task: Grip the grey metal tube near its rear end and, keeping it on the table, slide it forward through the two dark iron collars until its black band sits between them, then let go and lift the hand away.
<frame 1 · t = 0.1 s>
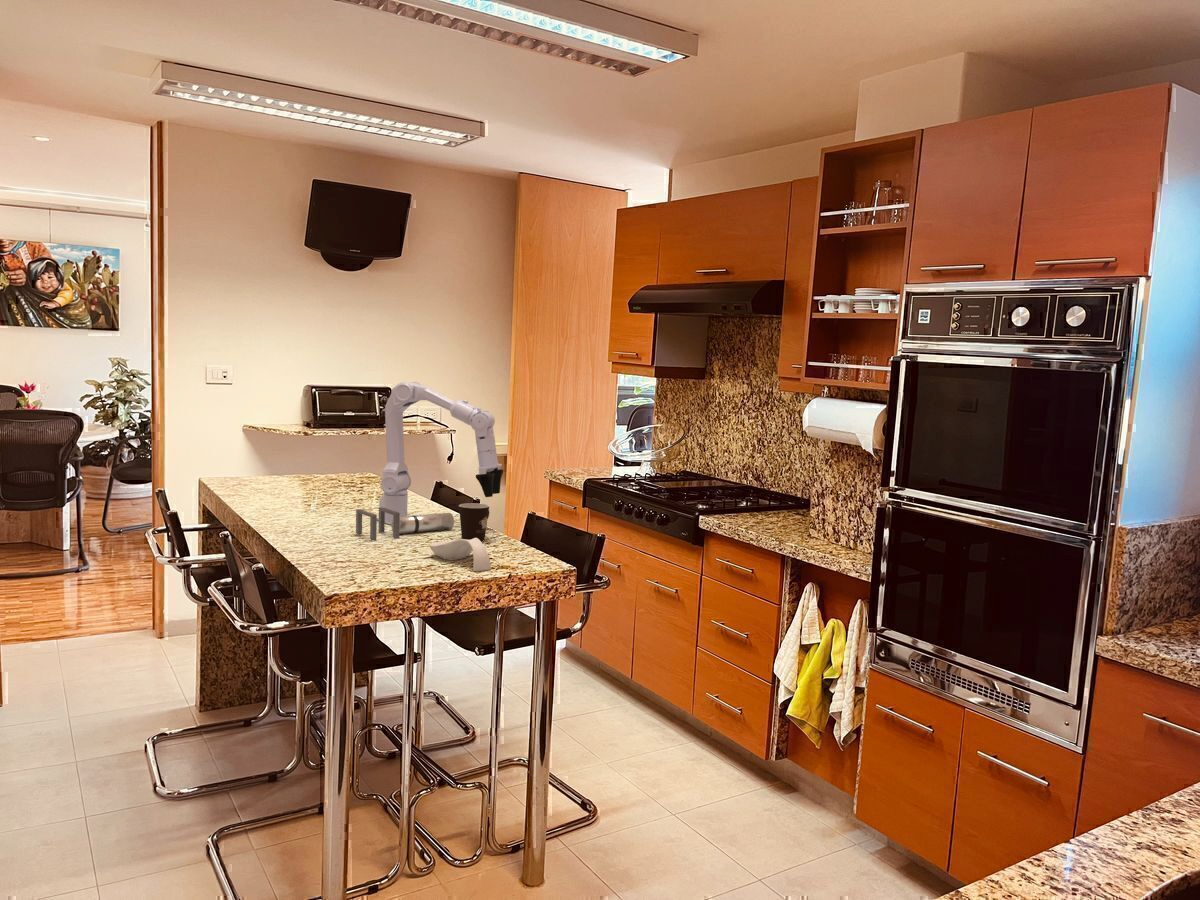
hand: (492, 495, 274), 11 cm above the counter, tool pointing down, fingers open, 7 cm apart
coffee mug: (477, 540, 258), on the counter
tube: (422, 531, 267), on the counter
spoon rest: (462, 563, 230), on the counter
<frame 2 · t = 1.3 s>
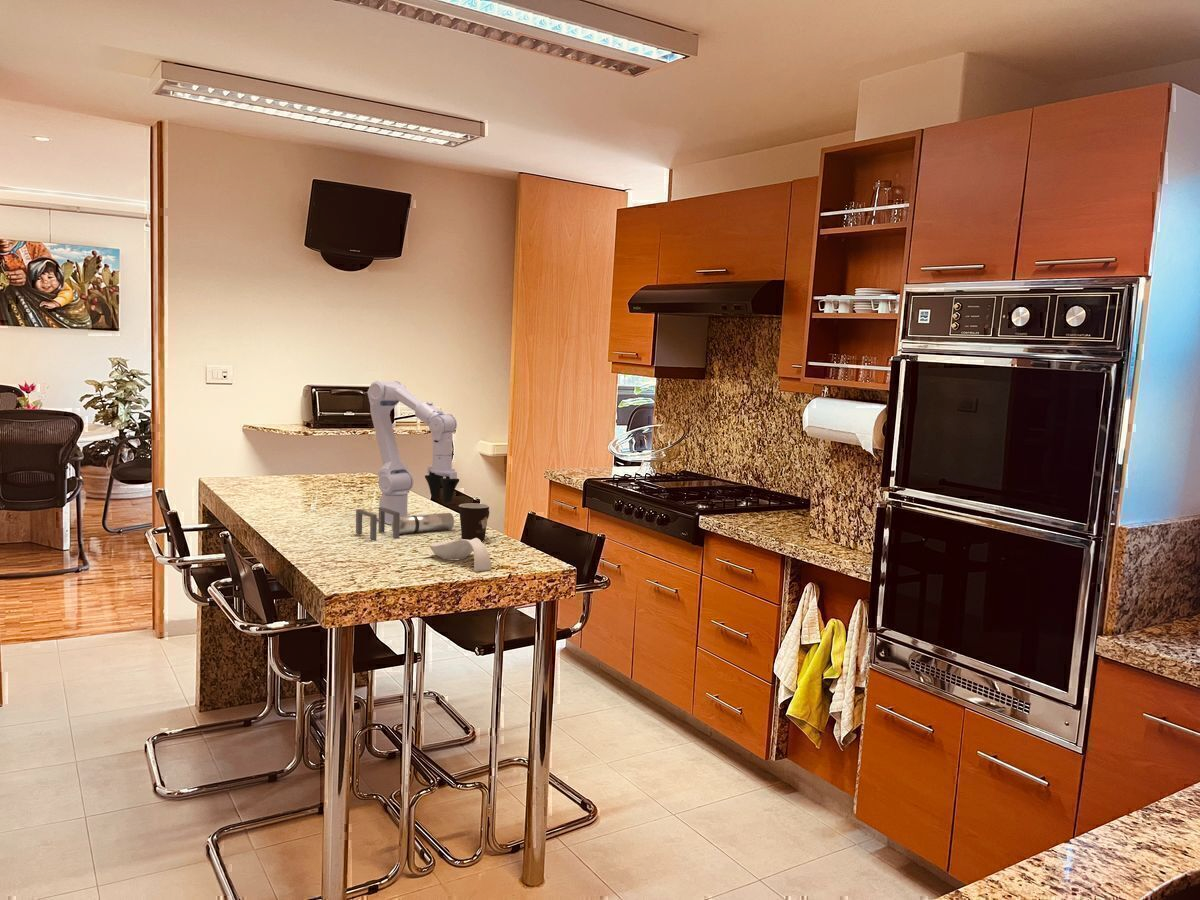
hand: (441, 499, 270), 9 cm above the counter, tool pointing down, fingers open, 7 cm apart
nothing on the counter moved.
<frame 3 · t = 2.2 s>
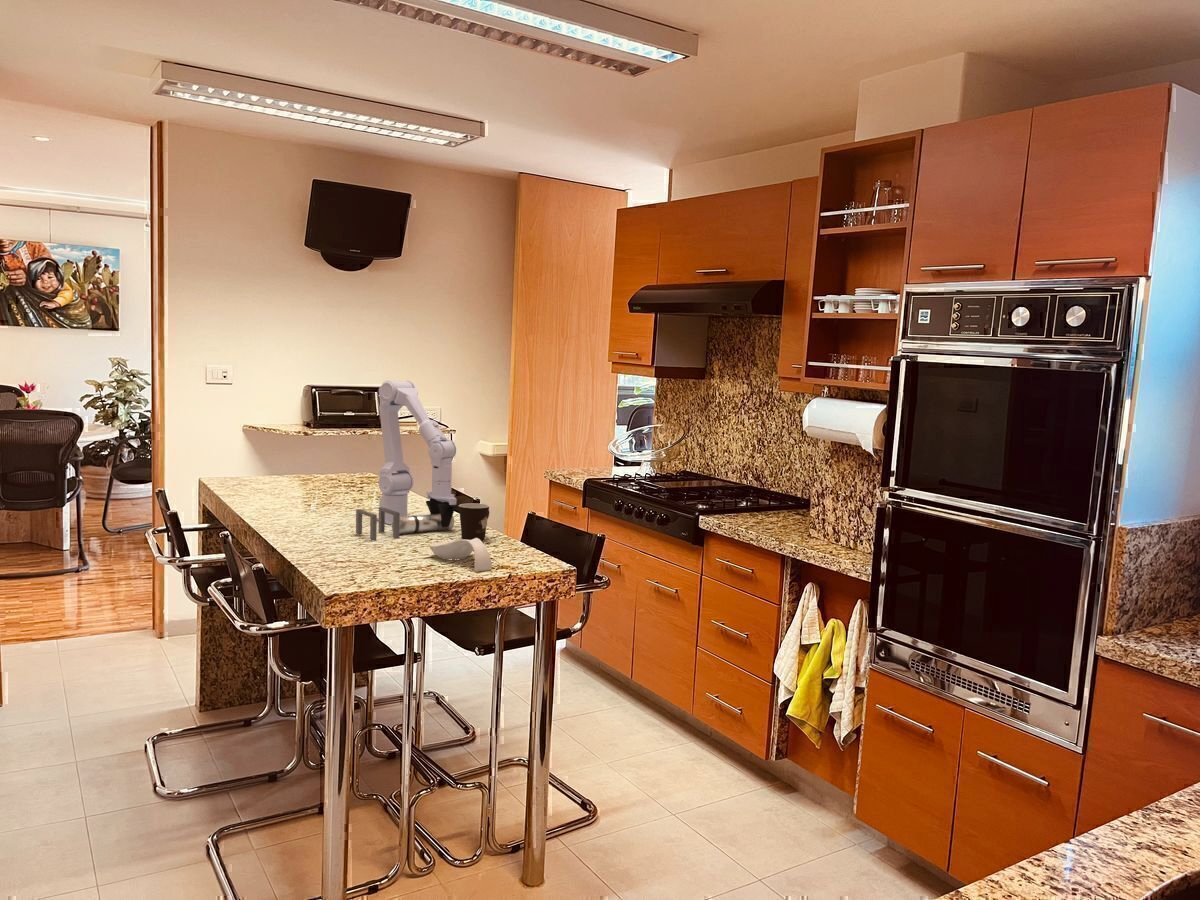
hand: (440, 525, 270), 1 cm above the counter, tool pointing down, fingers closed on tube, 5 cm apart
tube: (422, 531, 267), on the counter, touching gripper
everything else where it was.
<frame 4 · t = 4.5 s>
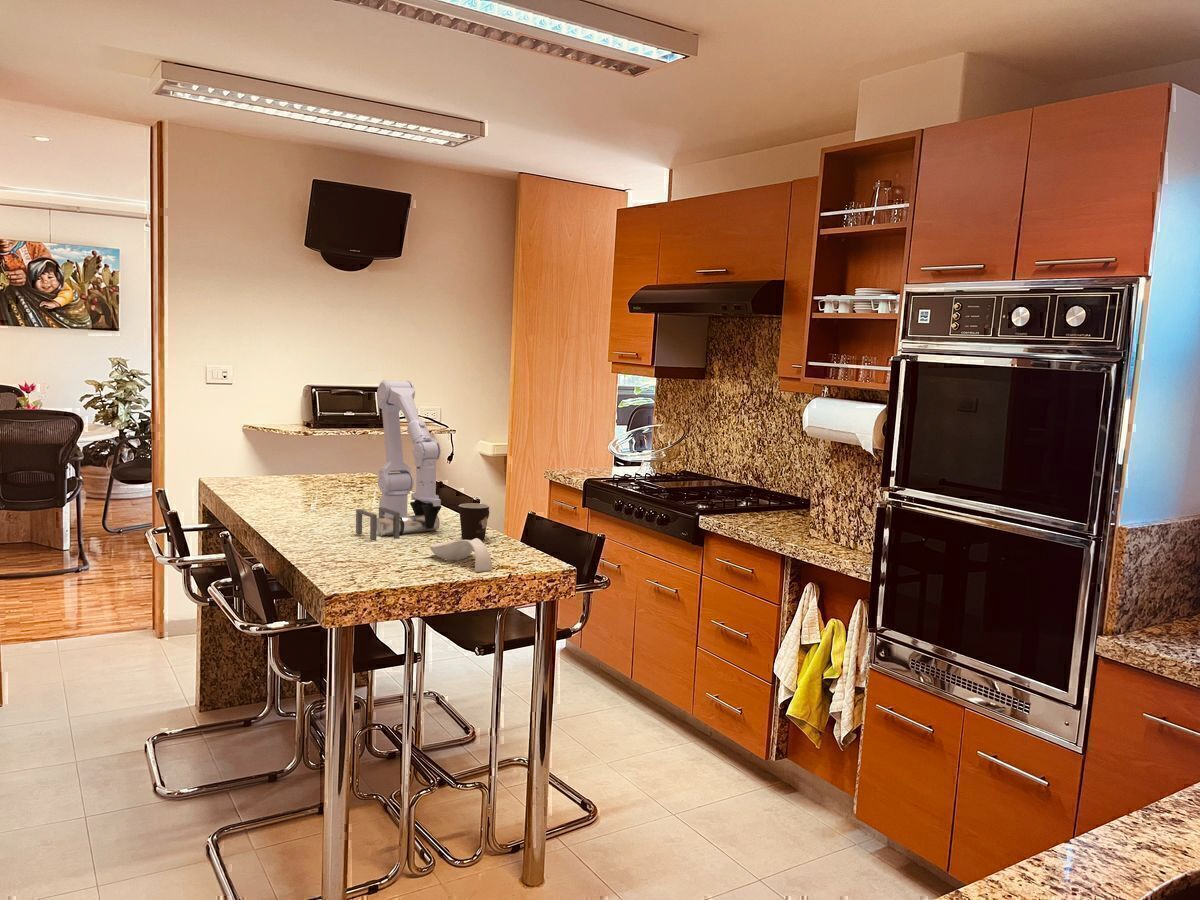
hand: (425, 526, 267), 1 cm above the counter, tool pointing down, fingers closed on tube, 5 cm apart
tube: (408, 533, 264), on the counter, touching gripper
everything else where it was.
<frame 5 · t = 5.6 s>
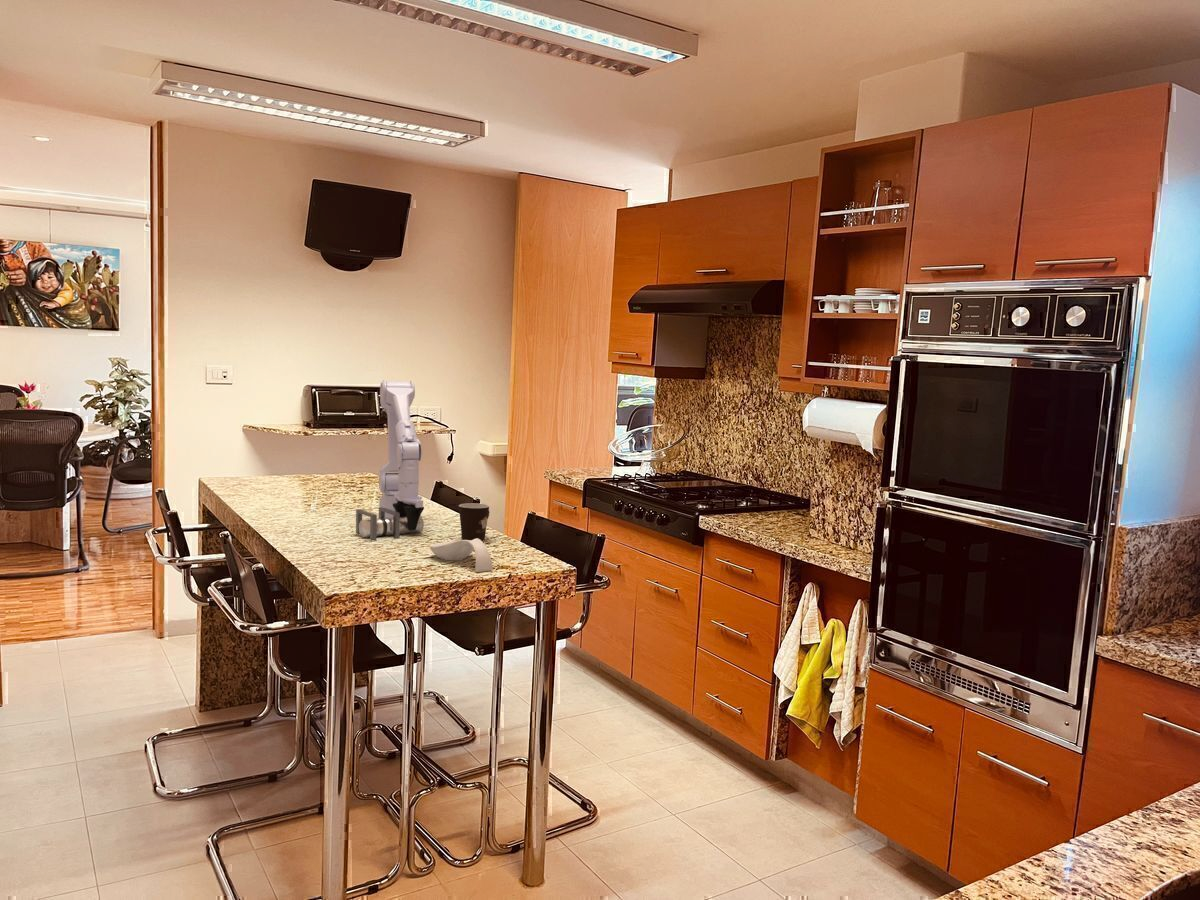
hand: (407, 528, 264), 1 cm above the counter, tool pointing down, fingers closed on tube, 5 cm apart
tube: (391, 534, 261), on the counter, touching gripper
everything else where it was.
when the fingers open (1 cm above the counter, at t = 6.3 s): tube stays where it is, on the counter.
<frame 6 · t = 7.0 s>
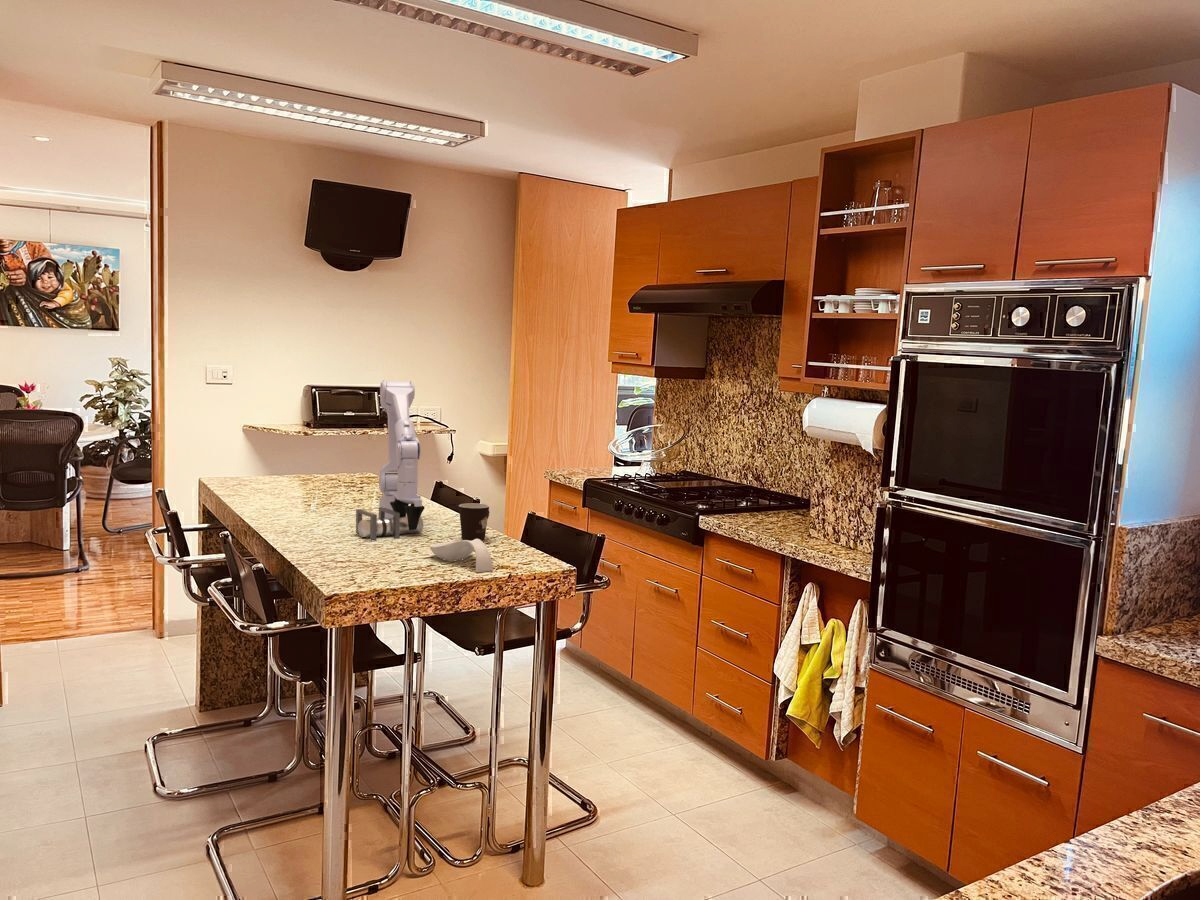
hand: (406, 527, 263), 2 cm above the counter, tool pointing down, fingers open, 7 cm apart
tube: (390, 534, 260), on the counter, tilted 10°
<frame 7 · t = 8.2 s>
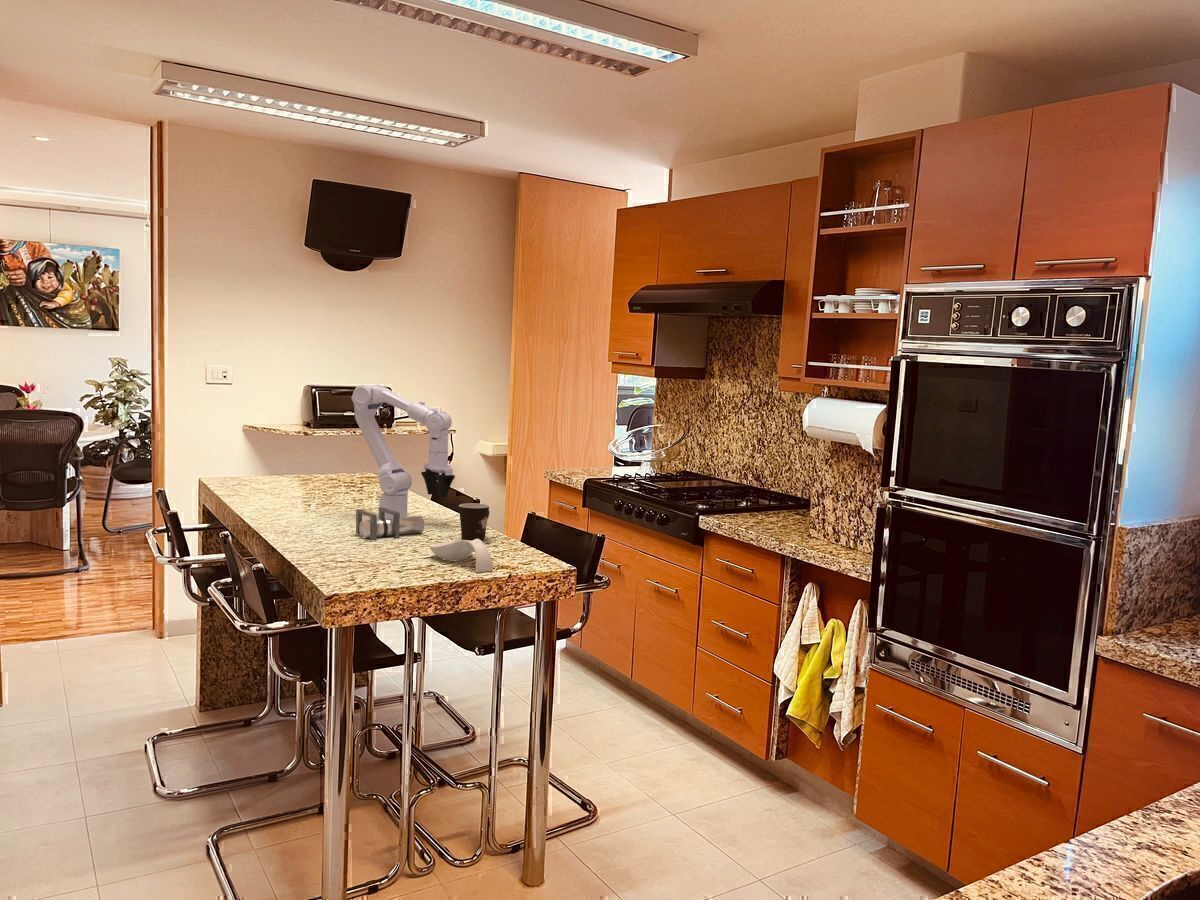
hand: (437, 495, 276), 9 cm above the counter, tool pointing down, fingers open, 7 cm apart
tube: (390, 533, 260), on the counter, tilted 27°
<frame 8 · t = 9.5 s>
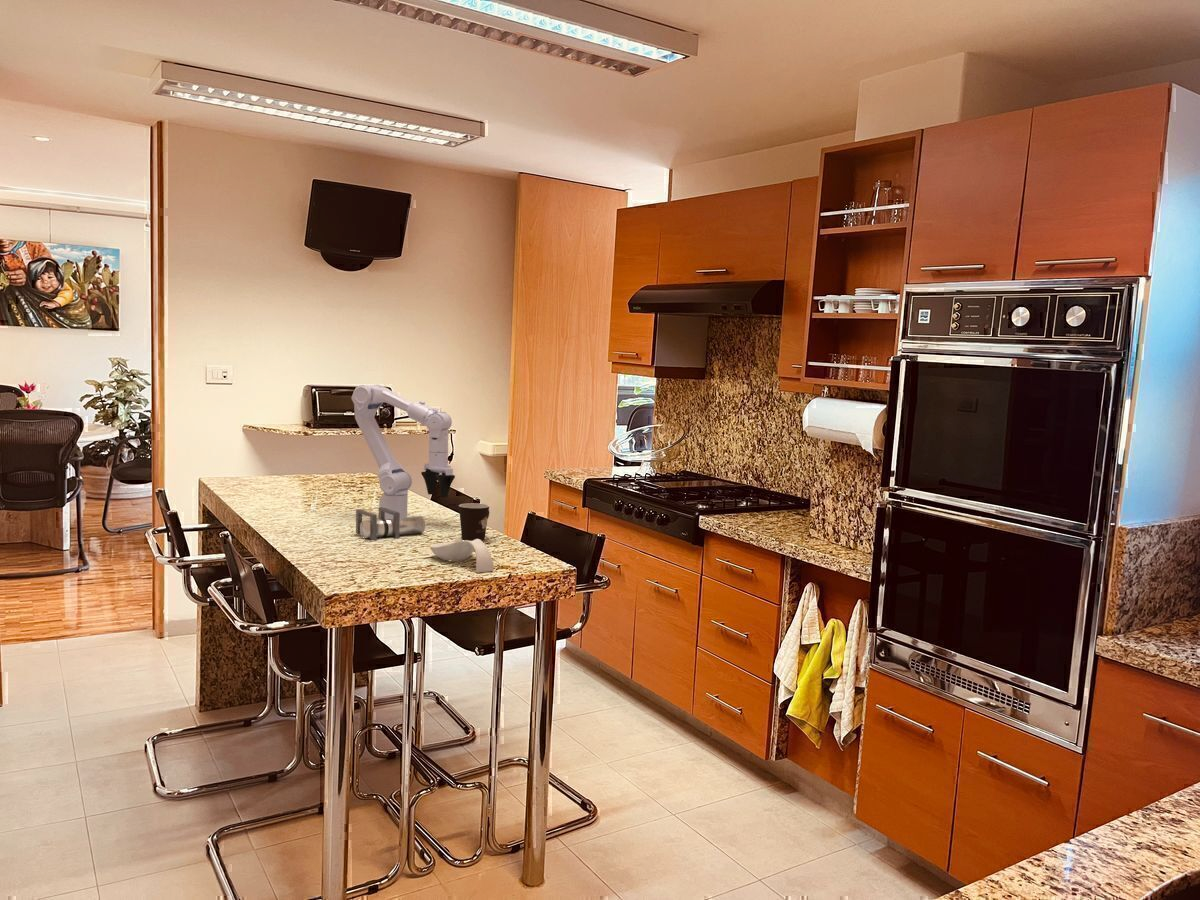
hand: (437, 495, 276), 9 cm above the counter, tool pointing down, fingers open, 7 cm apart
tube: (390, 533, 260), point 1 cm above the counter, tilted 37°
at the end: tube 1.8 cm from the target spot, point 0.5 cm above the counter; the gripper is holding nothing; tube point 0.5 cm above the counter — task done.
